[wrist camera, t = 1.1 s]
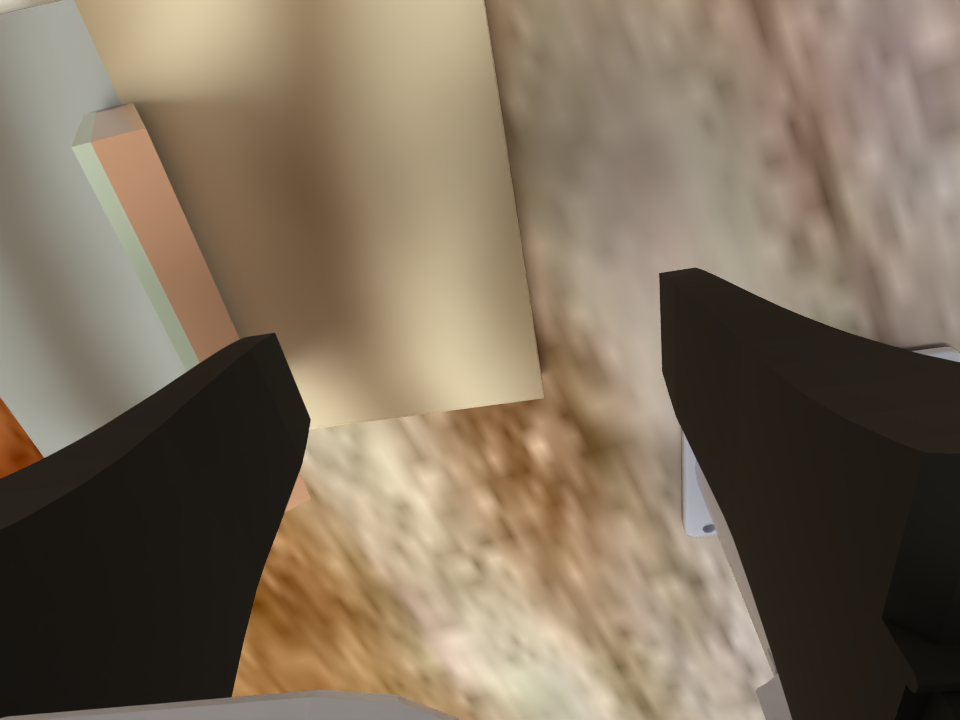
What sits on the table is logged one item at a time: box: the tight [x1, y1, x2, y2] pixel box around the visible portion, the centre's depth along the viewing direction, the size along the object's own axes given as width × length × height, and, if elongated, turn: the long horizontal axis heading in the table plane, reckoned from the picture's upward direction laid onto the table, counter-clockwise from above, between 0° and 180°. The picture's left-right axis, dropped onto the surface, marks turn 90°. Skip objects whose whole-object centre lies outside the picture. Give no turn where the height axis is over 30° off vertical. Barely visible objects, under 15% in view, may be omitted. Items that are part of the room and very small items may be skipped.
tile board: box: [0, 0, 544, 458], centre depth 20 cm, size 19×14×2 cm
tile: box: [71, 103, 311, 513], centre depth 16 cm, size 8×9×1 cm
